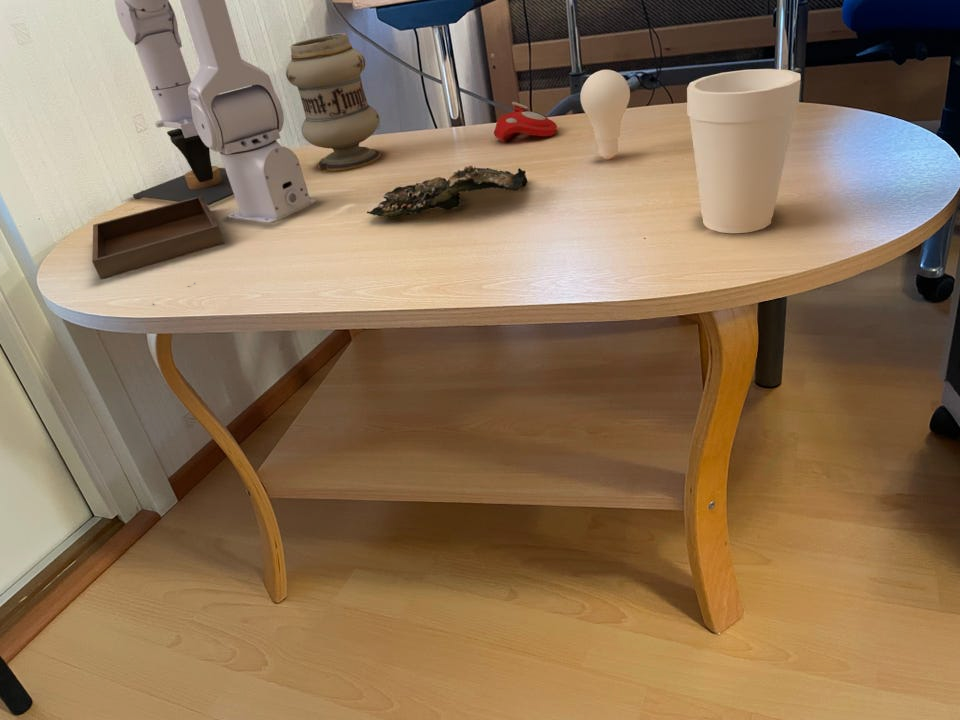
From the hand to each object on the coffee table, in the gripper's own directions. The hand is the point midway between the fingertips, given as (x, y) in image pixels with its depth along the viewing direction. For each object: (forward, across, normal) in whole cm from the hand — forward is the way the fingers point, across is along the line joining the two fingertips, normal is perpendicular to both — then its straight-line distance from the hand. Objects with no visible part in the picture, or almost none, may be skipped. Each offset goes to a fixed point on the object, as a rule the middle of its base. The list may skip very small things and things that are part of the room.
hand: (203, 176), depth 109 cm
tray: (+2, +23, -9) cm, 25 cm away
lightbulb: (+2, +41, +47) cm, 63 cm away
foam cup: (+2, +69, +43) cm, 81 cm away
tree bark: (+2, +40, +24) cm, 47 cm away
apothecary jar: (+2, +8, +21) cm, 23 cm away
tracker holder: (+2, +20, +47) cm, 51 cm away
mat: (+2, 0, 0) cm, 2 cm away
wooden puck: (+1, 0, 0) cm, 1 cm away
